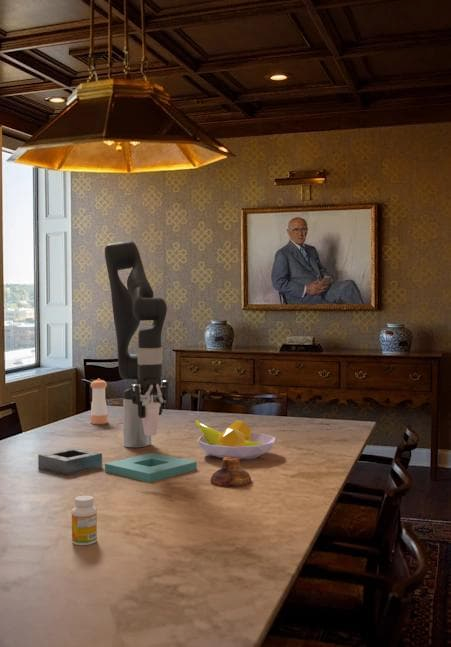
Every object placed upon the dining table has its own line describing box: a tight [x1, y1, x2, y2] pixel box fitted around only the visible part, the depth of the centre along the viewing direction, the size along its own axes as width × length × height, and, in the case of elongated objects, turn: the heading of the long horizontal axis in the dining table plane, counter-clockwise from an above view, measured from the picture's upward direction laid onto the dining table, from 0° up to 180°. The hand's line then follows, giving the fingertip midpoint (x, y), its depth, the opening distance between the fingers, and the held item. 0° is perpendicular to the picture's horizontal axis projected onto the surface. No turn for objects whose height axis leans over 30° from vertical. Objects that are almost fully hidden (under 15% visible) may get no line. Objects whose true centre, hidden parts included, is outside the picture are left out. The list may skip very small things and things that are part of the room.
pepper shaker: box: [90, 378, 109, 425], centre depth 305 cm, size 7×7×19 cm
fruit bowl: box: [194, 419, 276, 461], centre depth 240 cm, size 28×27×11 cm
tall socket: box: [37, 447, 103, 477], centre depth 223 cm, size 14×14×4 cm
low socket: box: [104, 452, 198, 483], centre depth 219 cm, size 20×20×2 cm
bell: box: [210, 457, 252, 488], centre depth 205 cm, size 12×12×7 cm
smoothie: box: [142, 395, 161, 437], centre depth 219 cm, size 6×6×14 cm
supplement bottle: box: [71, 495, 98, 547], centre depth 155 cm, size 5×5×10 cm
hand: (150, 416), depth 219 cm, fingers closed on smoothie, 6 cm apart
